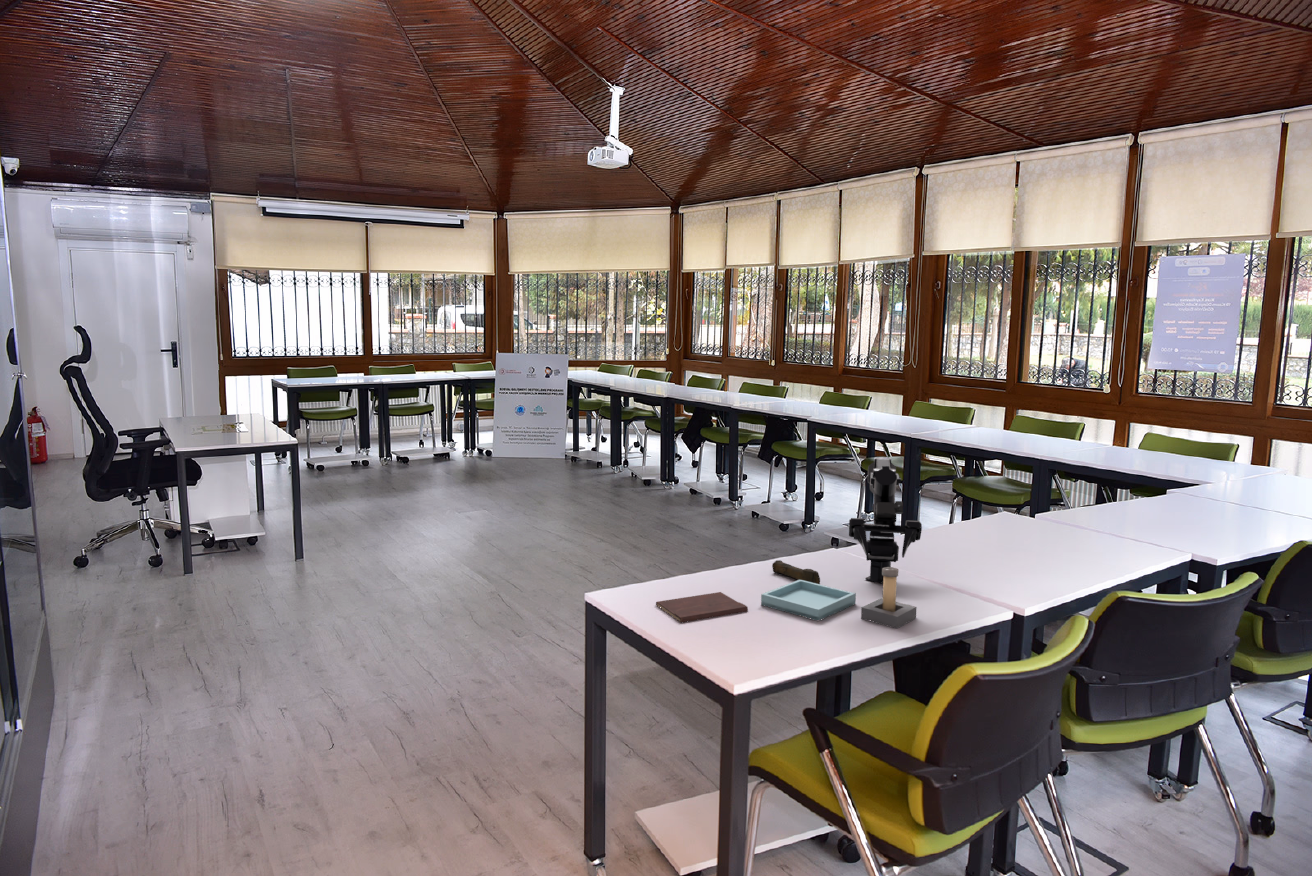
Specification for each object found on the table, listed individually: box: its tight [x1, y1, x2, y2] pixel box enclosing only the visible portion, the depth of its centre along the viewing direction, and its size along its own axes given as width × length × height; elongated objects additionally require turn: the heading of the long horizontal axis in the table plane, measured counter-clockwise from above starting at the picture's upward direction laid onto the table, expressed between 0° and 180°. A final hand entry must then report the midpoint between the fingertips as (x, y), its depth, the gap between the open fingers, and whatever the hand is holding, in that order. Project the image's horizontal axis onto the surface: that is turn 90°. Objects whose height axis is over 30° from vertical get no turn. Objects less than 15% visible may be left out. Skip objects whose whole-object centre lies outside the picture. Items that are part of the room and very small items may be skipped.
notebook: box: [655, 591, 749, 623], centre depth 221 cm, size 15×20×2 cm
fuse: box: [882, 566, 899, 612], centre depth 211 cm, size 4×4×13 cm
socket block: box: [860, 597, 918, 629], centre depth 212 cm, size 10×10×3 cm
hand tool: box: [771, 559, 821, 585], centre depth 245 cm, size 19×4×5 cm, turn 29°
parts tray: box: [760, 579, 857, 621], centre depth 223 cm, size 18×18×3 cm
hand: (884, 555), depth 218 cm, fingers open, 9 cm apart
